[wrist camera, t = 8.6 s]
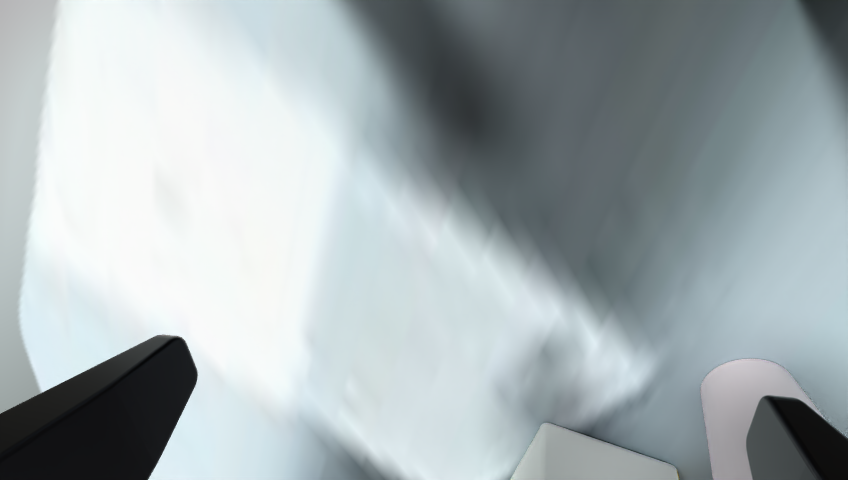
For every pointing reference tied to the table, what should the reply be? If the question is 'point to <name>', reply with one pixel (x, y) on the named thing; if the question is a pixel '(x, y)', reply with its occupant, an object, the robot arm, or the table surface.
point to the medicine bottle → (585, 459)
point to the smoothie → (740, 409)
